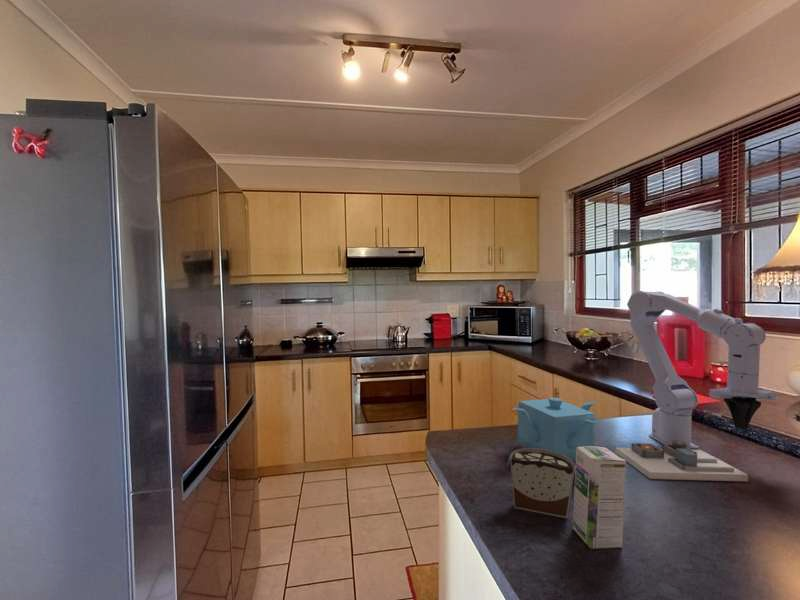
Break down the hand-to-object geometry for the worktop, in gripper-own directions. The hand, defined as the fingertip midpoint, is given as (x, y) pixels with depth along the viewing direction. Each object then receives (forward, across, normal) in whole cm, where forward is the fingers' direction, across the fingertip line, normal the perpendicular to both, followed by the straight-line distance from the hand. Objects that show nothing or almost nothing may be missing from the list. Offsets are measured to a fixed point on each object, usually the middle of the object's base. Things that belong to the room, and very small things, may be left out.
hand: (740, 428), depth 95 cm
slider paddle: (+8, -16, -4) cm, 18 cm away
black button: (+6, -13, +2) cm, 15 cm away
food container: (+10, -56, -20) cm, 60 cm away
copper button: (+8, -21, +2) cm, 22 cm away
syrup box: (+10, -50, -30) cm, 59 cm away
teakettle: (+10, -44, +2) cm, 45 cm away
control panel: (+9, -16, -1) cm, 19 cm away
